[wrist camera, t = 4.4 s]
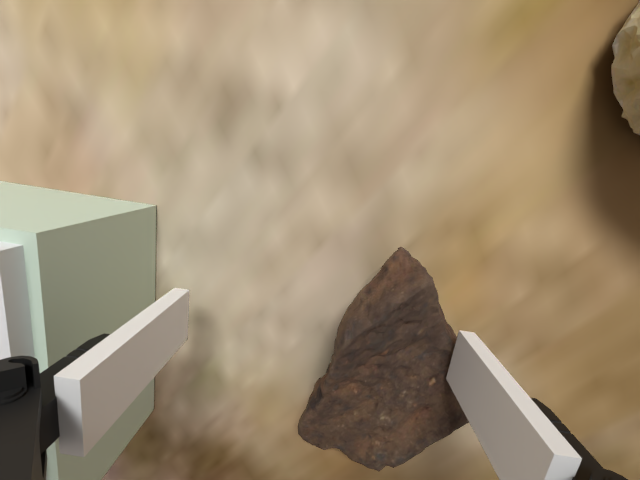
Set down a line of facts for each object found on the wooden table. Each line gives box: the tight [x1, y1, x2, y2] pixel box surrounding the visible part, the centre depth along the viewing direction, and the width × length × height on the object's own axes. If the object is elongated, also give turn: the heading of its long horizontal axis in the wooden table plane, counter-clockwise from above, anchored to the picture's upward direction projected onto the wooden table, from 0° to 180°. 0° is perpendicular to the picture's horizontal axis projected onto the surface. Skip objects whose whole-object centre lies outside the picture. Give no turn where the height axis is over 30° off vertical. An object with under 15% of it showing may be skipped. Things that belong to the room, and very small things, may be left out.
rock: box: [298, 247, 469, 471], centre depth 16 cm, size 11×10×4 cm
